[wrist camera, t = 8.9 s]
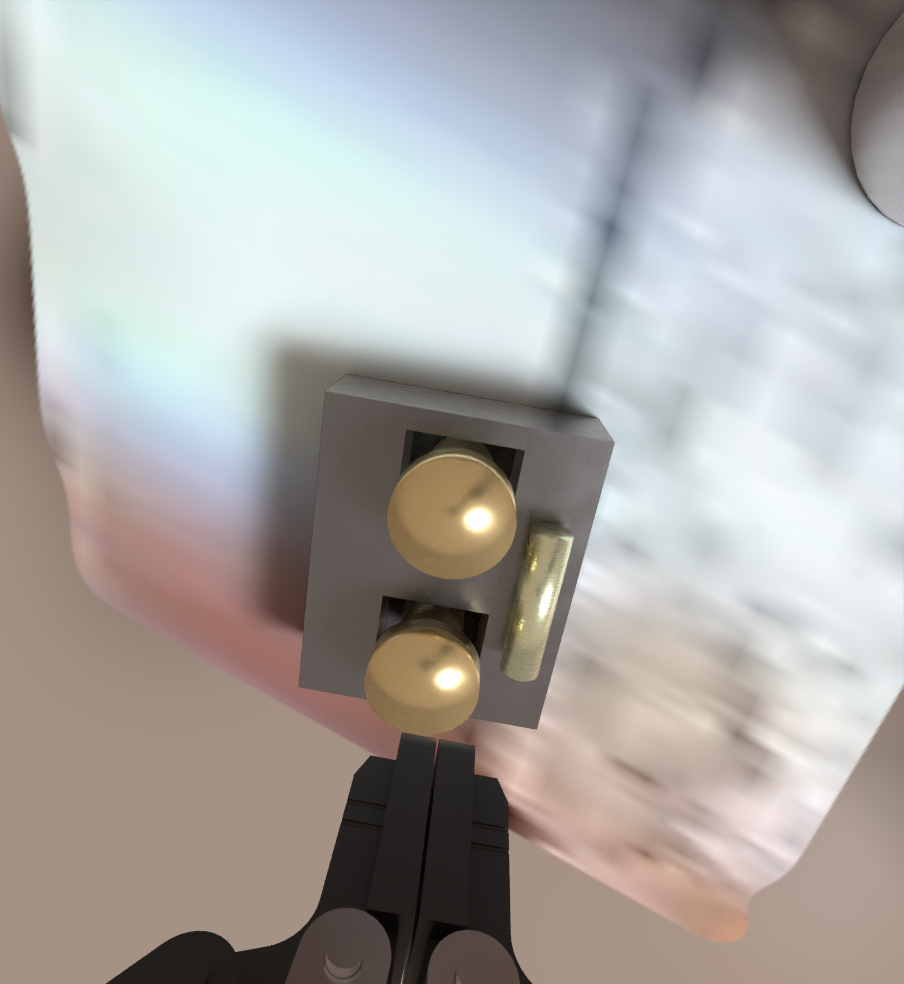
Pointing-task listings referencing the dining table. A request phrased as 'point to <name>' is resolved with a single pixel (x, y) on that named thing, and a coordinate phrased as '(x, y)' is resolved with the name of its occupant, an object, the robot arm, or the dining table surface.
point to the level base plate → (495, 593)
